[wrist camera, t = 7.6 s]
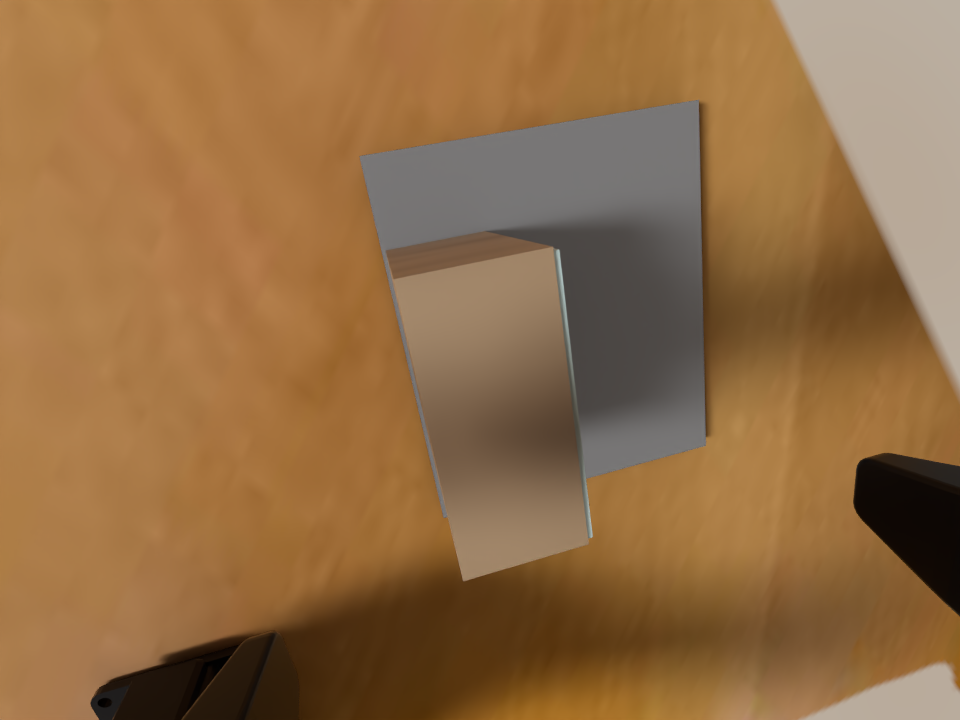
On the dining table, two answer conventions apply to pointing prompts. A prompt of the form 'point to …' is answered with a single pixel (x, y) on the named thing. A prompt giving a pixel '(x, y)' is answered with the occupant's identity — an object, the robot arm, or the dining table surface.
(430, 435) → the light brown wooden block
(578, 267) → the rubber mat
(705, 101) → the dining table surface
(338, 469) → the dining table surface
